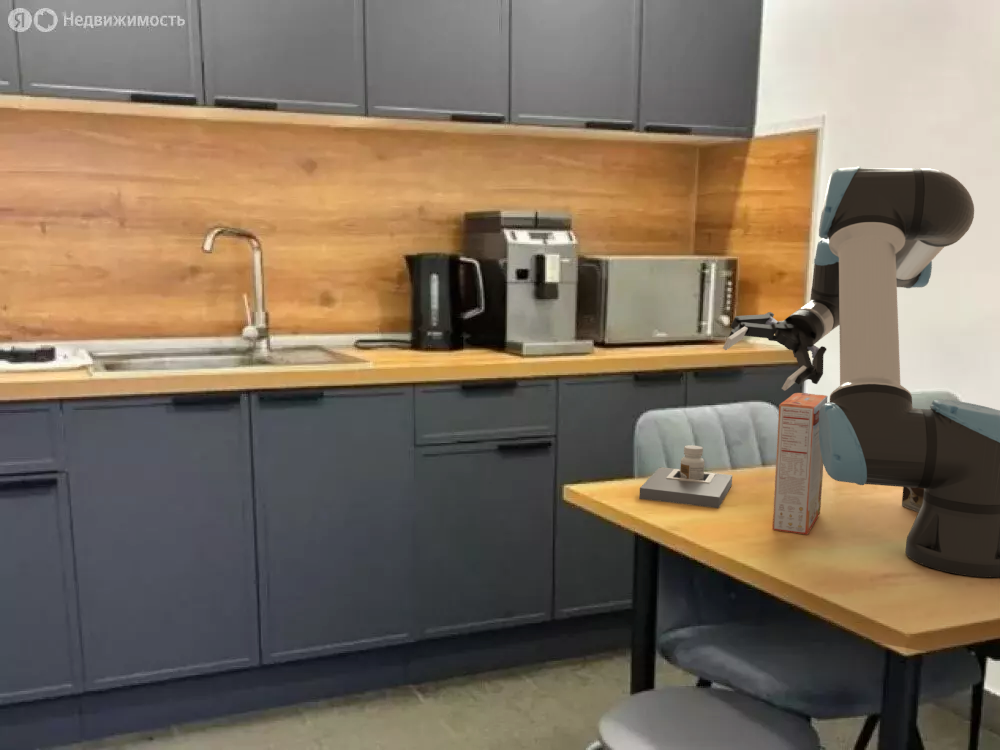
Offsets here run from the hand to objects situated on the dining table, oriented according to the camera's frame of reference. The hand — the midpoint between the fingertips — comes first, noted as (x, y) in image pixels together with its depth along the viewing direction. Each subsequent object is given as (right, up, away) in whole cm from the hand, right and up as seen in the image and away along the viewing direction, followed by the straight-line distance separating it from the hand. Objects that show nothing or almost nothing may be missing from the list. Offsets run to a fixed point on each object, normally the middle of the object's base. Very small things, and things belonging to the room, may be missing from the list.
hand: (755, 363), depth 178 cm
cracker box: (+1, -27, -22) cm, 35 cm away
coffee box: (+28, -26, -13) cm, 40 cm away
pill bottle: (-12, -23, 0) cm, 27 cm away
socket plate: (-14, -24, -4) cm, 28 cm away
